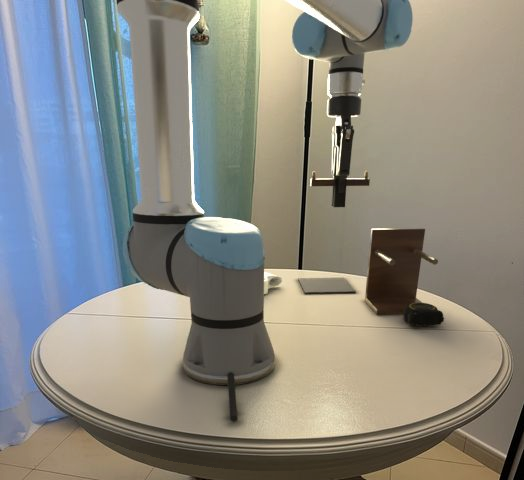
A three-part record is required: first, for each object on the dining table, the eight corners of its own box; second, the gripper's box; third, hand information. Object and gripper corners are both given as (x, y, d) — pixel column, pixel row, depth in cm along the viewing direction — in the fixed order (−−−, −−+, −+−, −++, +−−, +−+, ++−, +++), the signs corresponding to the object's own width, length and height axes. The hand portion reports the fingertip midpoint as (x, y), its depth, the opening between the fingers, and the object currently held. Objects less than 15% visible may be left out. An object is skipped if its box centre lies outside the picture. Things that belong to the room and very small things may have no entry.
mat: (355, 292, 115) (355, 291, 115) (304, 293, 115) (305, 292, 115) (343, 278, 128) (343, 277, 128) (298, 279, 128) (298, 278, 127)
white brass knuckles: (289, 288, 119) (244, 299, 111) (249, 275, 132) (206, 284, 124) (290, 276, 118) (244, 285, 109) (248, 264, 131) (205, 271, 122)
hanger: (369, 185, 108) (370, 171, 107) (311, 186, 108) (311, 171, 107) (367, 185, 110) (368, 170, 109) (310, 185, 109) (310, 171, 108)
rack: (433, 316, 98) (446, 237, 92) (379, 317, 98) (387, 238, 91) (413, 300, 110) (423, 228, 103) (364, 301, 109) (371, 228, 102)
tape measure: (409, 330, 91) (411, 312, 90) (398, 318, 97) (400, 301, 96) (442, 329, 91) (445, 311, 90) (429, 317, 98) (431, 301, 96)
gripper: (369, 92, 95) (360, 209, 104) (353, 100, 108) (347, 203, 118) (334, 93, 95) (328, 210, 104) (322, 100, 108) (318, 203, 117)
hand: (338, 206), depth 111 cm, fingers closed on hanger, 2 cm apart
